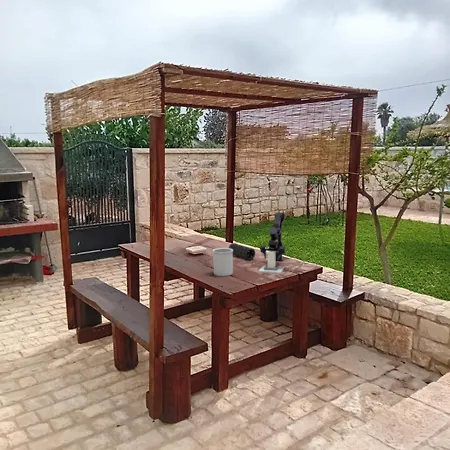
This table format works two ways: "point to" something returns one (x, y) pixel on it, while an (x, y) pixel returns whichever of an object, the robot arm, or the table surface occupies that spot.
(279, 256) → the robot arm
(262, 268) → the dock plate
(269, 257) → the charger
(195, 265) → the table surface
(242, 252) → the muzzle brake
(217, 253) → the utensil holder
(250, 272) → the table surface
